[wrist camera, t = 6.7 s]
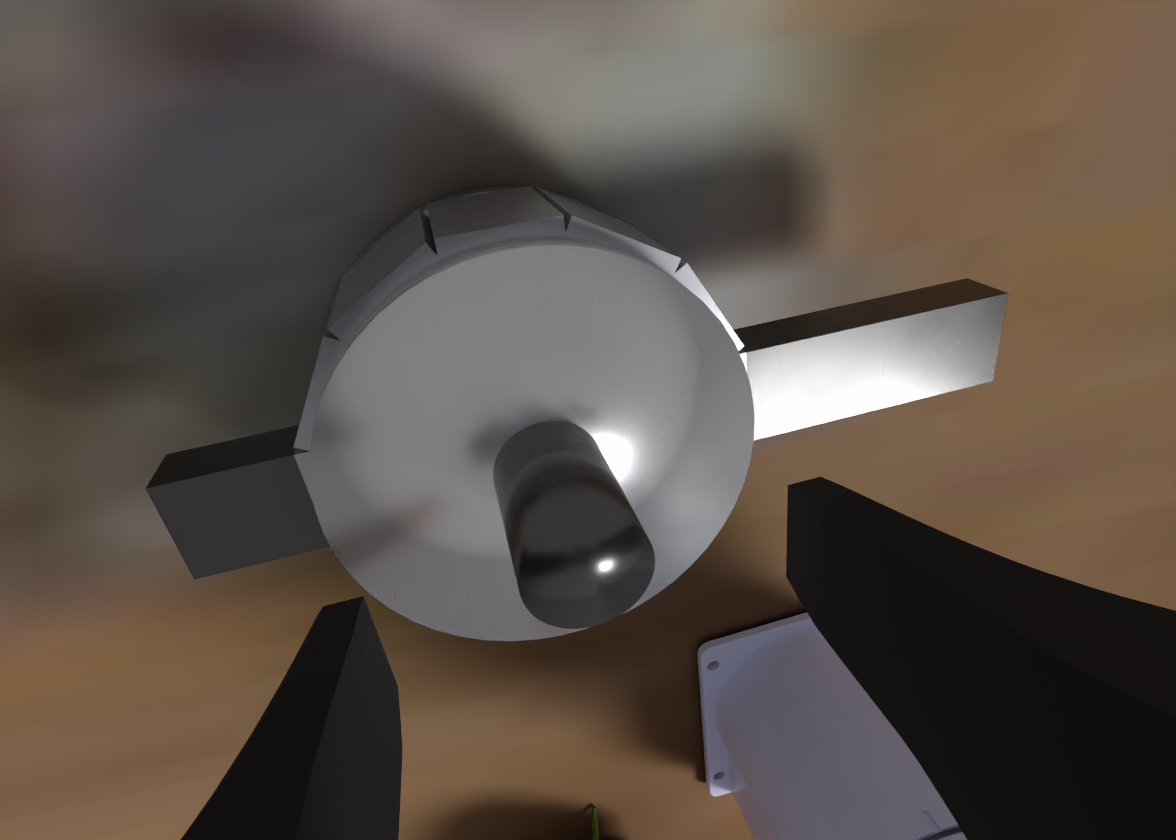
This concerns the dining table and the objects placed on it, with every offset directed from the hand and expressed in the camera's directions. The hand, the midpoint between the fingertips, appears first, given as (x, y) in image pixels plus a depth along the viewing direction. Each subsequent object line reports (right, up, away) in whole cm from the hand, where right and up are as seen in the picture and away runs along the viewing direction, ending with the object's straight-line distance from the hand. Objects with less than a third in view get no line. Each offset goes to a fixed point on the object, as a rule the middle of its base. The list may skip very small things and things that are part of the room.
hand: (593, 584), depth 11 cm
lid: (-1, +2, +5) cm, 6 cm away
